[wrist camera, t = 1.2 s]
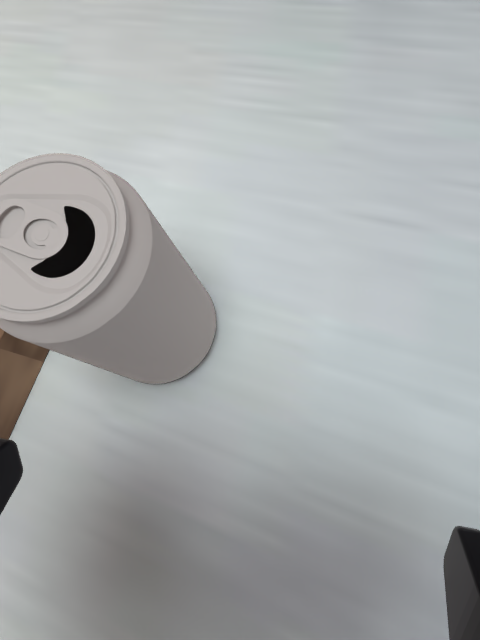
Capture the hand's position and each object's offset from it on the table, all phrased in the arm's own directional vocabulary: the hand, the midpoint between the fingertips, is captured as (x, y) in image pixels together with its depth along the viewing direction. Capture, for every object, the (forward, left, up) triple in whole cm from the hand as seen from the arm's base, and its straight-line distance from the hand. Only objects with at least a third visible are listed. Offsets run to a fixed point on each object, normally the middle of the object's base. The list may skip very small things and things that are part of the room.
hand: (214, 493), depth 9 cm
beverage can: (+5, +8, -14) cm, 17 cm away
